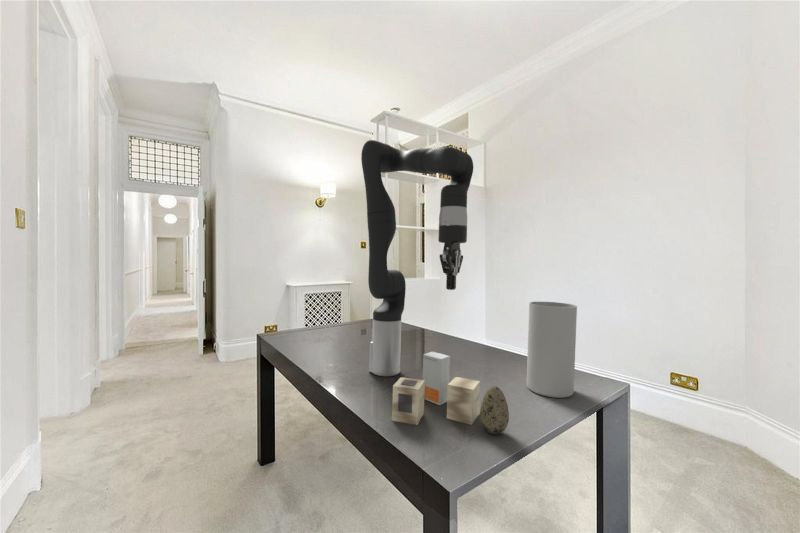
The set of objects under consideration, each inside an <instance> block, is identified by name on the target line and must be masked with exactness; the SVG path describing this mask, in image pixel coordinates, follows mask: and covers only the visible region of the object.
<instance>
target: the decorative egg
mask: <svg viewBox="0 0 800 533" xmlns="http://www.w3.org/2000/svg"><path fill="white" fill-rule="evenodd" d="M507 402H508V401H507V399H506V396H505V394H504V392H503V390H502V389H501V388H500V387H498V386H496V385H492V386H491V387H489V388H488V389H487V391H486V392H485V394H484V396H483V398H482V402H481V404H480V408H479V418H480V423H481V425H482V427H483V428H484V429H485V430H486V431H487V432H488V433H490V434H492V435H498V434H502V433H503V432H505V430H506V429H507V427H508V424H509V422H510V421H509V419H510V412H509V405H508V403H507Z"/></svg>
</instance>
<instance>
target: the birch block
mask: <svg viewBox="0 0 800 533" xmlns="http://www.w3.org/2000/svg"><path fill="white" fill-rule="evenodd" d="M480 386H481V381H479V380H475V379H470V378H466V377H465V378H464V377H460V376H459V377H458V376H455V377H454V378H453V379H452V380H451V381H449V384H448V390H447V402H446V419H447V420H448V419H449V420H451V421H455V422H459V423H464V424H467V425H471V426H472V425H473V424H474V422H476V421H475V420H476V419H477V418H478V416H480V389H481V388H480Z"/></svg>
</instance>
